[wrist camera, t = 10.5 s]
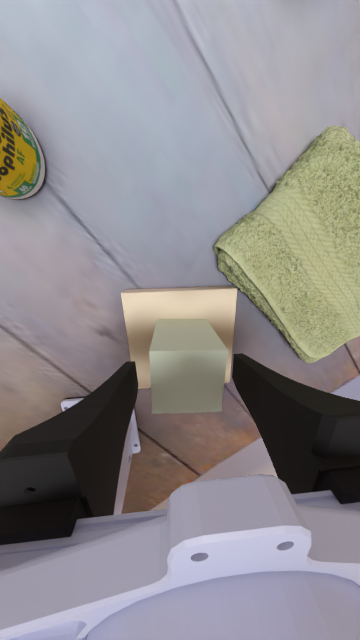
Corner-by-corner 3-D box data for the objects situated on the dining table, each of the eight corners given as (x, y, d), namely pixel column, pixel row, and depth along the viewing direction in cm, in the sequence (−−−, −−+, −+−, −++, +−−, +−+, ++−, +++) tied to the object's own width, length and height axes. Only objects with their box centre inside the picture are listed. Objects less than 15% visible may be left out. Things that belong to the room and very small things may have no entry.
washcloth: (299, 362, 21) (322, 379, 18) (201, 253, 16) (209, 252, 13) (401, 284, 18) (448, 288, 15) (321, 126, 13) (367, 86, 10)
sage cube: (203, 362, 17) (221, 411, 11) (158, 362, 16) (152, 414, 11) (206, 319, 15) (228, 350, 10) (157, 319, 15) (149, 351, 9)
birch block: (222, 368, 20) (229, 382, 18) (139, 374, 20) (135, 389, 17) (227, 284, 17) (237, 288, 15) (127, 288, 16) (121, 293, 14)
